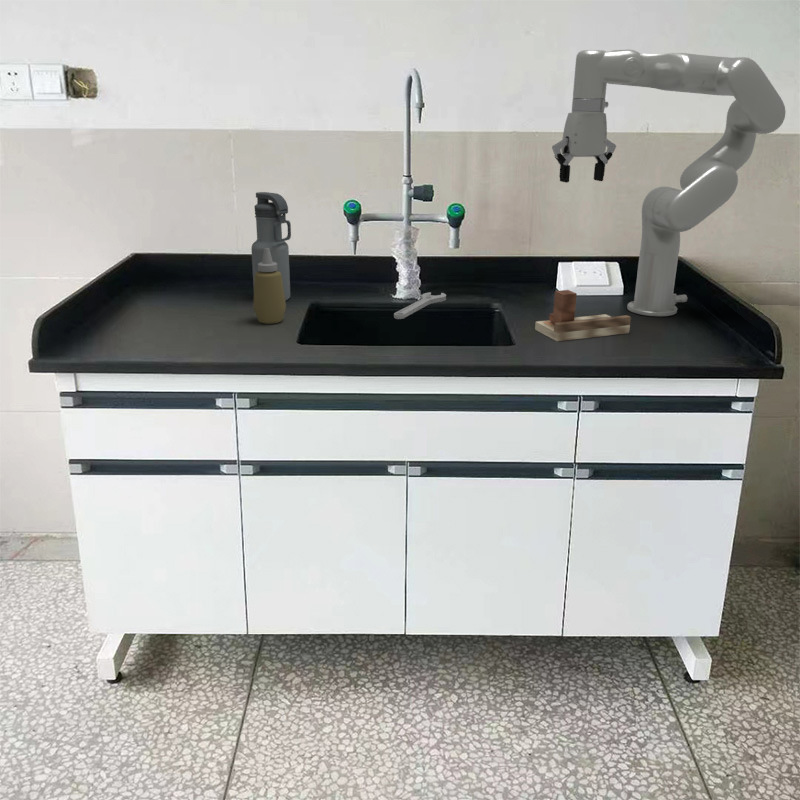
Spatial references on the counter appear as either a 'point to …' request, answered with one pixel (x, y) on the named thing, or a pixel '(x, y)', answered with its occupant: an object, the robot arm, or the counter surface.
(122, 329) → the counter surface
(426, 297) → the adjustable wrench
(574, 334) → the board
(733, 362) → the counter surface
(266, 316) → the squeeze bottle
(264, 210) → the water bottle
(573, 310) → the brown wooden block
